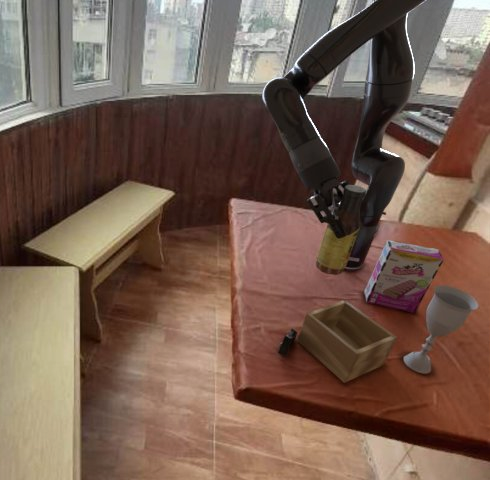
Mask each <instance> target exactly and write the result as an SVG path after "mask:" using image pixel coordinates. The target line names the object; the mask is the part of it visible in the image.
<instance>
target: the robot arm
mask: <svg viewBox="0 0 490 480" xmlns="http://www.w3.org/2000/svg"><path fill="white" fill-rule="evenodd" d="M371 1H372V2H371V3H370V4H369V5H368V6H366V7H365V8H364V9H362V10H361V11H359V12H358V13H356V14H354V15H353V16H351V17H349V18H348V19H346V20H345V21H343V22H340V23H339V24H337V25H336V26H334V27H333V28H331V29H330V30H328V31H327V32H326V33H324V34H323V35H321V37H319V38H318V39H317V40H316V41H315V42H313V44H312V45H311V46H309V48H307V50H305V51H304V52H303V53H302V54H301V55H300V56H299V57H298V58H297V59H296V61H295V63H294V64H293V66H292V68H291V69H290V70H289V71H288V72H287V73H286V74H285V75H284V76H283V77H281V76H280V77H275V78H273V79H271V80H269V81H268V82H267V83H266V84H265V86H264V88H263V90H262V94H261V100H262V105H263V109H264V111H265V112H266V113H267V114H268V115H270V117H271V118H272V120H273V122H274V124H275V125H276V127H277V130H278V133H279V136H280V138H281V141H282V143H283V145H284V147H285V149H286V151H287V153H288V155H289V157H290V160H291V163H292V165H293V167H294V169H295V171H296V173H297V174H298V177H299V178H300V180H301V182H302V184H303V186H304V188H305V190H307V191H308V190H309V191H310V190H312V191H313V196H311V197H309V198H307V203H308V204H309V206H310V208H311V209H312V211H313V213H314V214H315V216H316V218H317V219H318V221H319V222H320V224H324V223H325V224H326V225H327V224H328V223H329V225H330V227H331V228H332V230H333V232H334V234H335V236H336V238H338V239H340V238H343V237H345V236H347V231H346V230H345V228H344V226H343V224H342V222H341V220H340V219H339V216H338V211H337V210H338V209H339V206H340V203H341V201H342V198H343V191H344V188H345V186H346V185H351V184H350V182H349V180H347V179H346V180H343V181H342V182H340V181H339V180H338V178H337V177H340V175H341V174H342V172H341V170H340V168H339V166H338V164H337V162H336V160H335V158H334V156H333V154H332V153H331V151H330V149H329V148H328V146H327V144H326V142H325V141H324V140H323V138H322V137H321V135H320V133H319V131H318V130H317V128H316V126H315V124H314V123H313V121H312V119H311V117H310V116H309V114H308V112H307V108H306V105H305V103H304V99H305V98H306V96H307V95H308V94H309V93H310V92H311V91H312V90H313V89H314V88H315V87H316V86H317V85H318V84H320V83H321V82H322V81H323V80H324V79H326V78H327V77H328V76H330V74H331V73H332V72H333V71H334V70H336V69H337V68H338V67H339V66H340V65H341V64H342V63H344V62H345V61H346V60H347V59H348V58H349V57H350V56H352V55H353V54H354V53H356V51H358V50H359V49H360V48H362V47H363V46H364V45H365V44H367V43H368V42H369V41H370V43H369V53H368V62H367V70H366V76H365V82H364V90H363V99H362V110H361V115H360V122H359V128H358V132H357V136H356V142H355V146H354V149H353V153H352V158H351V162H350V163H351V164H350V172H351V175H352V177H353V178H354V179H356V181H359V182H360V183H363V184H364V185H367V188H366V194H365V197H364V198H363V199H362V203H361V205H360V228H359V231H358V234H357V237H356V240H355V243H354V245H353V248H352V251H351V254H350V256H349V259H348V262H347V265H346V267H345V268H344V270H343V271H349V272H350V271H351V272H355V271H359V270H361V269H362V267H363V265H364V263H365V262H366V258H367V256H368V254H369V251H370V249H371V247H372V244H373V242H374V239H375V235H376V234H377V232H378V230H379V227H380V221H381V218H382V216H383V215H384V216H386V215H387V212H386V211H385V209H387V208H388V206H389V204H390V203H391V201H392V199H393V197H394V195H395V193H396V191H397V188H398V187H399V185H400V183H401V181H402V179H403V176H404V173H405V170H406V162H405V159H404V158H402V157H401V156H399V155H397V154H395V153H392V152H390V151H388V150H385V149H384V148H383V140H384V136H385V131H386V129H387V127H388V126H389V124H390V123H391V122H392V121H393V120H394V118H395V117H396V116H398V114H399V113H400V112H401V111H402V110H403V109H404V107H405V106H406V105H407V103H408V101H409V98H410V97H411V91H412V87H413V81H414V75H415V61H414V56H413V51H412V47H411V45H410V39H409V37H408V31H407V30H408V29H407V18H408V14H409V13H410V12H411V11H413V10H415V9H416V8H417V7H419V6H420V5H421V4H423V3H425V2H426V1H427V0H371ZM332 214H333V215H332Z"/></svg>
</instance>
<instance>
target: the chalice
mask: <svg viewBox="0 0 490 480" xmlns="http://www.w3.org/2000/svg"><path fill="white" fill-rule="evenodd" d="M478 308H479V303H478V302H477V300H476V299H475V298H474V297H473V296H472V295H471V294H469V293H467V292H465V291H464V290H461V289H460V288H457V287H454V286H449V285H443V284H441V285H437V286H435V287H434V288H433V297H432V298H431V300H430V301H429V303H428V306H427V308H426V311H425V312H426V313H425V321H426V329H427V331H428V333H430V334H429V336H428V337H426V338H425V340H426V342H425V343H422V344H421V347H422V348H421V351H419V350H418V351H417V350H416V351H415V350H414V351H411V352H410V353H408V354H406V355H404V356H403V362H404V364H405V365H406V366H407V367H408V368H409V369H411V370H412V371H415V372H416V373H420V374H424V375H425V374H430V373H431V372H432V361H431V358H430V357H429V355H428V354H427V353H428V352H430V351H432V350H433V348H432V345H434V344H436V338H437V337H438V338H444V337H446V336H447V335H449V334H452V333H454V332H455V331H457V330H459V329H461V328H462V327H463V325H464V324H465V322H466V320H467V319H468V317H469V316H470V314H471V312H472V311H475V310H476V309H478Z"/></svg>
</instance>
